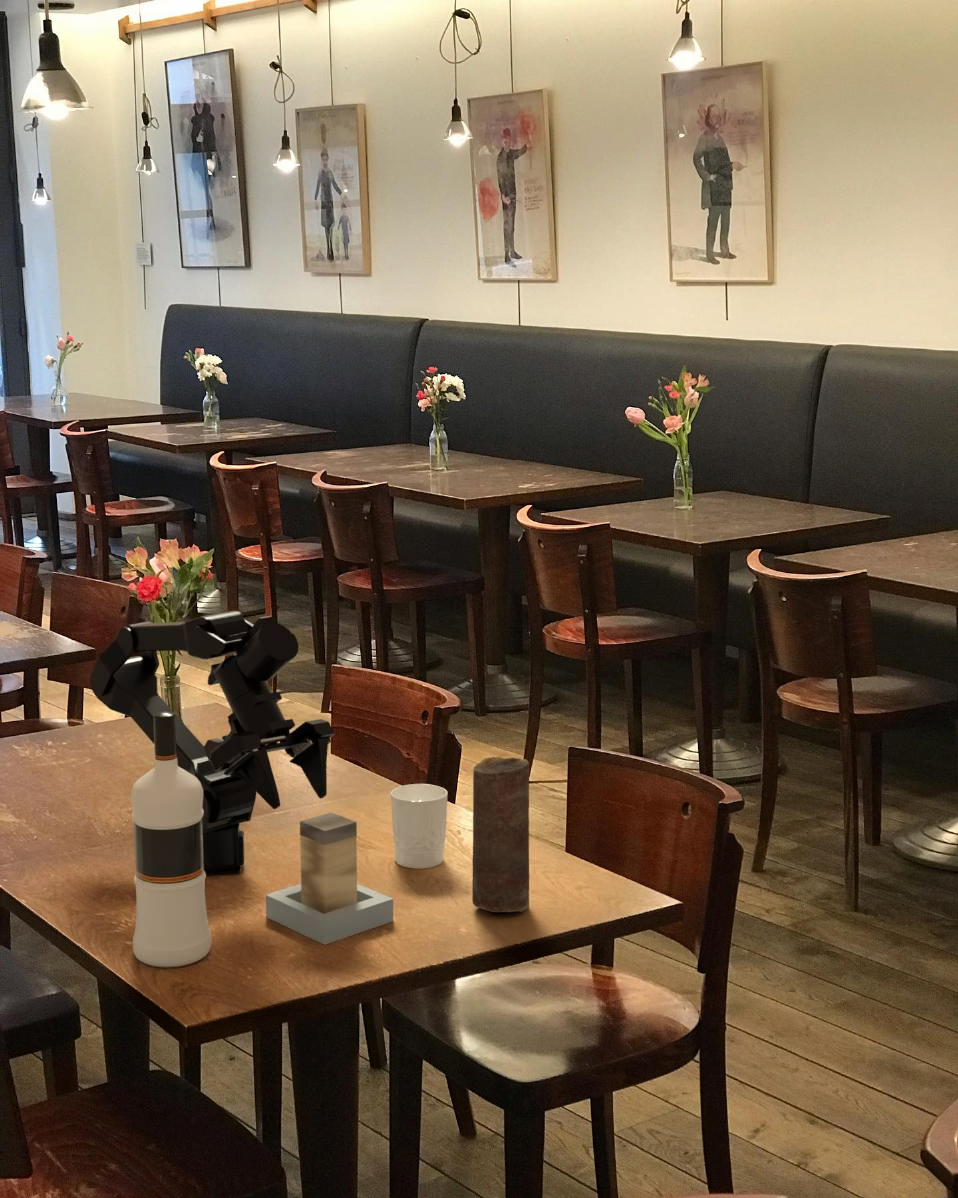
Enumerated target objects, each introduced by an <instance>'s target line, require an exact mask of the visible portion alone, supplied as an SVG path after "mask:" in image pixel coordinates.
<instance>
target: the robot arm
mask: <svg viewBox="0 0 958 1198" xmlns="http://www.w3.org/2000/svg"><path fill="white" fill-rule="evenodd" d="M168 651H169V652H171V651H174V652H175V651H178V652H179V651H180V652H181V651H183V652H186V653H187V655H189V656H190V657H194V658H198V659H201V660H211V659H214V658H220V657H225V656H227V657H226V658H225V659H224V660H223V661H222V662H218V663H213V664H212V665H211V666H210V673H209V675H208V678H207V684H208V686H213V685H218V684H219V686H220V688H221V690H222V692H223V694H224V697H225V699H226V701H227V703H228V706H229V707H230V709H231V711H232V713H230V714H229V715H228V716H227V719H228V724H229V728H230V731H229V733H227V734H226V735H222V737H221V738H217V737H216V738H210V739H207V740H206V742H205V744H202V742H201V741H200V740H199V739H198V738H197V737H196V736H195V734H194V733H193V732H192V731H191V730H190V729H189V728H188V727H187V726H186V725H185V723H184V722H183V721H182V720H181V719H180V718H179V716H178V715H177V714H176V713H175V712H174V710H173V709H171V707H170V706H169V705H168V704H167V703H166V702H165V701H164V699H163V698H162V697H161V695H159V692H158V691H159V690H158V677H157V675H156V673H157V671H158V668H159V666H160V660H159V657H158V654H157V653H158V652H168ZM140 652H142V653H141V655H140V656H139V655H137V656H135V655H134V656H132V654H135V653H140ZM298 652H299V642H298V639H297V637H296V635H295V634H294V633H292V631H291V630H289V628H287V627H286V626H284V625H282V624H280V623H277V622H275V620H274V617H273V616H272V615H267V616H263V617H258V619H257V620H256V621H255V622H254V624H253V623H252V622H250V621H248V620H247V619H245V618H244V617H243V613H241V612H240V611H238V610H231V611H225V612H220V613H214V614H208V615H203V616H197V617H194V618H192V619H189V620H186V621H175V622H173V621H171V622H152V621H144V622H137V623H132V624H127V625H125V626H124V627H122V628H120V629H119V631H118V633H117V635H116V638H115V639H114V641H113V642H112V643H111V644H110V645H109V646H108V647H107V648H106V649H105V650H104V651H103V652H102V653H101V654H100V655H99V657H98V658H97V660H96V662H95V665H94V668H93V670H92V672H91V674H90V678H89V685H90V688H91V691H92V693H93V694H94V696H95V698H97V699H98V700H99V701H100V702H101V703H102V704H103V705H104V706H106V707H107V708H108V709H109V710H110V711H114V712H117V713H119V714H122V715H125V716H128V717H130V718H131V720H132V721H133V722H134V723H135V724H136V725H137V727H139V728H140V729H141V731H143V733H144V734H145V735H146V736H147V738H148V739H149V740H150V741H151V742H152V744H154V725H153V724H154V720H153V719H154V718H153V715H154V714H156V713H158V712H173V713H174V714H175V715H176V717H175V718H176V745H177V762H178V766H179V767H180V768H182V769H184V770H186V771H187V772H189V773H190V774H192V775H194V776H195V777H197V779H198V780H199V781H200V783H201V785H202V788H203V806H202V809H203V811H204V814H203V817H202V832H203V866H204V871H205V874H206V876H213V875H214V876H216V875H239V874H241V868H242V866H244V865H245V859H246V857H245V831H244V830H240V824H242V823H247V822H250V821H251V820H252V819H251V818H252V815H253V813H254V806H255V803H256V799H257V794H258V795H259V796H260V797H261V798H262V799H263V800H264V801H265V802H266V804H268V805H269V806H270V807H271V809H273V810H276V809H278V808H280V807H281V801H280V799H281V798H280V795H279V791H278V787H277V784H276V783H277V782H276V779H275V777H274V772H273V770H272V766H271V762H270V757H269V755H268V753H271V752H276V751H277V752H278V751H280V750H281V751H282V750H284V751H285V753H286V754H287V755H288V756H290V757H291V758H292V759H290V760H289V762H290V763H291V764H293V765H296V766H298V767H300V769H301V770H302V771H303V773H304V775H305V777H306V780H307V781H308V783H309V784H310V786H311V788H312V789H313V790H314V792H315V794H316V795H317V798H318V799H323V798H325V797H326V796H327V794H328V792H327V790H328V789H327V788H328V787H327V783H328V781H327V780H328V778H327V777H328V776H327V772H328V771H327V763H328V748H329V747H328V746H329V744H330V743H331V742H332V739H331V738H333V737H334V736H335V732H334V729H333V728H332V726H331V723H330V722H329V721H328V720H325V719H322V718H320V719H314V720H308V721H304V722H303V723H302V724H301V725H299V726H298V727H296V728H295V726H296V724H295V721H294V719H293V718H291V719H286V718H285V716H284V714H283V712H282V710H281V707H280V706H279V705H278V703H279V702H280V701H281V700H282V699H283V697H282V695H281V693H280V691H276V692H272V689H271V688H270V686H269V684H268V681H270V680H272V679H274V678H275V676H277V675H278V674H279V672H281V671H282V670H283V669H284V668H285V667H286V666H287V665H288V664H289V663H290V662H291V661H292V660H293V659H294V658H295V657H296V656H297V654H298ZM293 728H295V729H294V730H293V731H291V732H290V730H292V729H293Z"/></svg>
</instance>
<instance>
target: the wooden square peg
mask: <svg viewBox="0 0 958 1198" xmlns="http://www.w3.org/2000/svg"><path fill="white" fill-rule="evenodd" d="M357 831H358V830H357V821H356V820H352V819H350V818H347V817H344V816H341V815H339V814H337V813H334V812H328V813H324V814H321V815H318V816H313V817H310V818H307V819H304V820H299V836H300V838H299V840H300V884H301V901H302V904H303V905H305V906H308V907H310V908H312V909H314V910H316V911H319V912H321V913H323V914H325V913H328V912H331V911H334V910H337V909H340V908H343V907H346V906H349V905H352V904H355V903H357V884H358V872H357V871H358V864H357V860H358V857H357V842H358V841H357V836H358V835H357V834H358V833H357Z"/></svg>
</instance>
